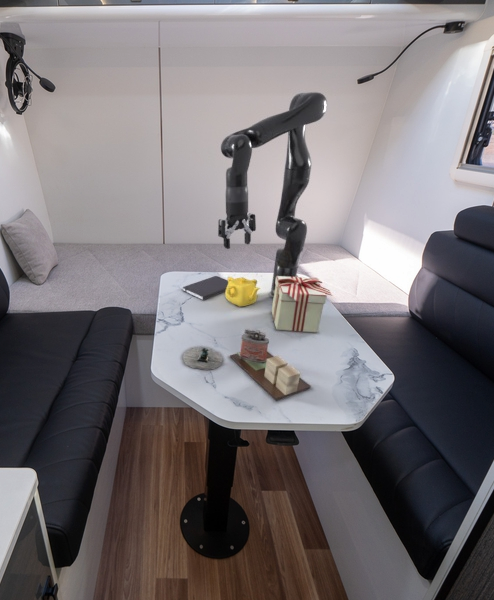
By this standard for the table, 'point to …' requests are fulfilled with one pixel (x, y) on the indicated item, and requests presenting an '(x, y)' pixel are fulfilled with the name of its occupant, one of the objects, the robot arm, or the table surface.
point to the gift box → (298, 303)
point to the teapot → (241, 291)
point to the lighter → (254, 346)
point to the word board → (262, 379)
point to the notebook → (207, 287)
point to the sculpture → (202, 358)
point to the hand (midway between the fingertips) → (237, 246)
